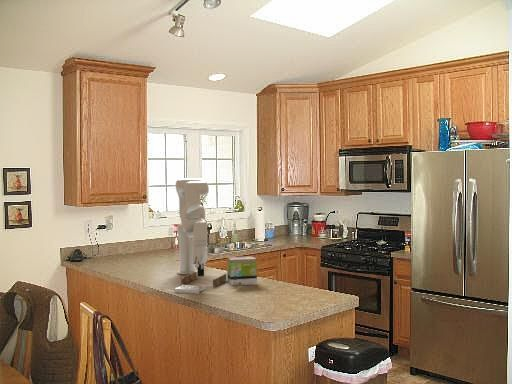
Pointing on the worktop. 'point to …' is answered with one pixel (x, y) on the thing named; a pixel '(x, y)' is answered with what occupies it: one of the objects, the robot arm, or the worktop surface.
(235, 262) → the tea box
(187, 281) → the walnut case
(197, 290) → the cover plate
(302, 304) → the worktop surface
